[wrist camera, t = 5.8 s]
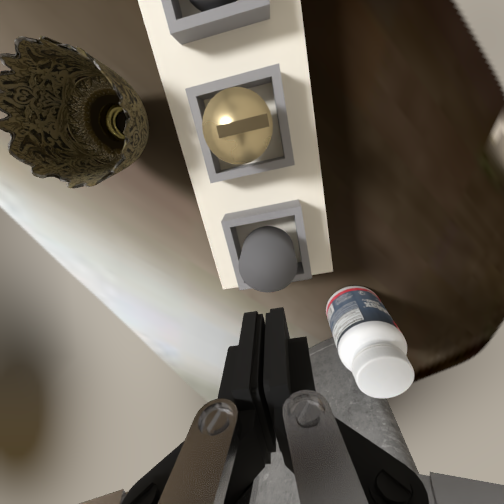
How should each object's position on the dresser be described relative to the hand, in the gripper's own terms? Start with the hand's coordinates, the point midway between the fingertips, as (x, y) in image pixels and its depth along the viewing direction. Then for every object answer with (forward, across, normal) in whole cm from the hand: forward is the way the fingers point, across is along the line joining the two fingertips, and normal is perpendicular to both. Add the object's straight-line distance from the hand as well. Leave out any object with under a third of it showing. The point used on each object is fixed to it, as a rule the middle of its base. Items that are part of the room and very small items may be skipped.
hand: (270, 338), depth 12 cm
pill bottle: (+15, -6, +9) cm, 19 cm away
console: (+14, 0, -9) cm, 17 cm away
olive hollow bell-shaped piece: (+14, +10, -11) cm, 21 cm away
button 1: (+9, 0, -1) cm, 9 cm away
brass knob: (+8, 0, -9) cm, 12 cm away
